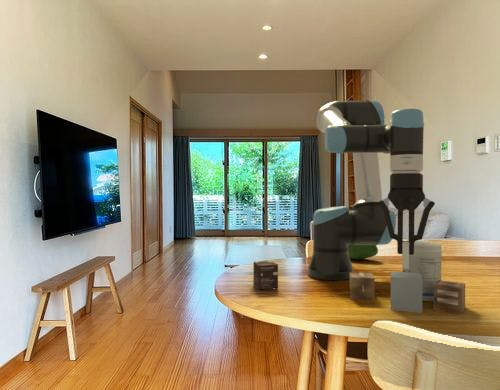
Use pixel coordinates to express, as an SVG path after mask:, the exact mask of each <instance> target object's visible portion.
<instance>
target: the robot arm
mask: <svg viewBox="0 0 500 390" xmlns="http://www.w3.org/2000/svg"><path fill="white" fill-rule="evenodd" d="M385 119H386V118H385V112H384V107H383V105H382V104H381V102H379V101H377V100H369V99H364V100H336V101H331V102H329V103H326V104H325V105H322V106H321V107H320V108H319V109H318V111H317V112H316V115H315V117H314V122H315V125H316V128H317V129H318V130H319V131H320V132H321V133H324V139H323V140H324V141H323V142H324V149H325V151H326V152H327V153H329V154H331V153H333V154H335V153H336V154H352V159H353V173H354V174H353V175H354V185H355V196H356V197H355V199H356V201H355V203H354V204H353V205H352V210H351V209H350V208H349V207H348V206H347V205H341V206H331V207H324V208H319V209H316V210H315V211H314V212H313V218H312V219H313V220H312V226H313V229H312V230H313V233H312V235H313V236H312V241H313V242H312V243H313V244H312V245H313V246H312V255H311V258H310V261H309V264H308V267H307V275H308V277H310V278H313V279H317V280H323V281H324V280H326V281H346V280H350V272H353V273H355V272H354V268H353V264H352V261H351V258H349V255H348V245H376V246H377V247H378V246H381V245H382V246H383V245H386V246H387V245H388V244H390V243H391V242H392V241H393V240H395V241H396V242H397V245H396V247H397V248H396V249H397V254H398V255H402V256H401V259H402V260H401V268H402V269H403V268H405V269H409V255H413V254H414V242H415V241H422V239H423V238H424V237H423V236H424V233H425V229H426V226H427V222H428V218H429V215H430V212H431V211H432V209H433V208H434V206H435V204H436V203H435V201H432V200H431V199H429V198H428V197H426V194H425V192H424V188H423V187H424V174H422V173H421V172H422V171H424V127H425V122H424V112H423V111H422V110H421V109H418V108H400V109H397V110H394V111H392V112H391V114H390V121H389V124H385ZM378 153H380V154H381V153H382V154H390V155H389V161H390V162H389V171H390V172H391V174H389V192H388V194H387V197H385V198H384V199H383V192H382V184H381V183H382V182H381V173H380V165H379V164H380V163H379V155H378ZM422 202H423V204H422ZM390 203H391V204H392V205H393V206H394V208H395V209H396V210H397V218H396V213H395V211H394V210H392V209H389V206H390ZM421 204H422V205H423V207H424V208H423V209H422V215H421V218H420V221H419V225H418V229H417V232H416V234H415V210H416V209H417V208H418V207H419V206H420V205H421ZM406 210H407V211H408V240H404V239H403V238H404V211H406ZM396 227H397V233H395V232H396Z"/></svg>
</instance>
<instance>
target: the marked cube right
mask: <svg viewBox="0 0 500 390" xmlns="http://www.w3.org/2000/svg"><path fill="white" fill-rule="evenodd" d="M437 309H438V311H443V310H444V311H443V312H449V313H454V312H455V314H461V315H462V314H463V313H464V311H463V310H465V309H466V283H463V282H458V281H451V280H450V281H448V280H443V279H441V280H438V281H437V282H436V283H435V284H434V301H433V310H437Z"/></svg>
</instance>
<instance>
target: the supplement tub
mask: <svg viewBox="0 0 500 390" xmlns="http://www.w3.org/2000/svg"><path fill="white" fill-rule="evenodd" d="M442 253H443V251H442V244H441V243H439V242H435V241H434V242H433V241H427V240H425V241H423V240H417V241H415V242H414V254H413V255H409V269H405V268H402V272H409V273H421V277H422V302H434V284H435V283H436V282H437V281H438V280H442V261H443V259H442V258H443V257H442V256H443V255H442Z"/></svg>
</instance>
